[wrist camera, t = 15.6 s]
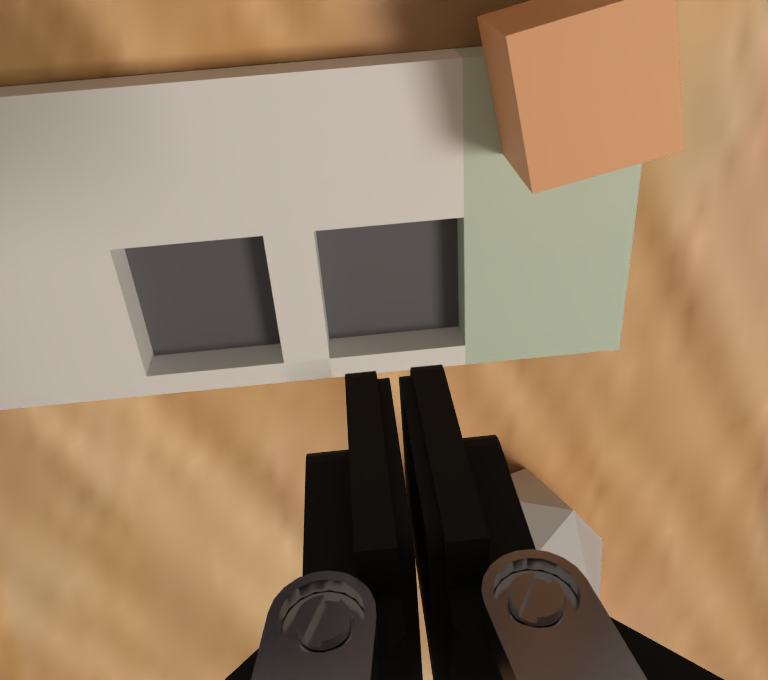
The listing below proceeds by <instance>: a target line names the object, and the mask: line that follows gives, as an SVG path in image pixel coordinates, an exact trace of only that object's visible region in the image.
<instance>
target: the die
mask: <svg viewBox="0 0 768 680" xmlns="http://www.w3.org/2000/svg"><path fill="white" fill-rule="evenodd" d="M511 477H512V480H513V483H514V486H515V489H516V492H517V495H518V498H519V501H520V504H521V507H522V510H523V513H524V515H525V518H526V521H527V524H528V527H529V530H530V533H531V536H532V539H533V542H534V545H535V548H536V550H541V551H548V552H551V553H553V554H556V555H558V556H561V557H564V558H565V559H566V560H568V561H569V562H571V563H572V564H574V565H575V566H576V567H578V569H579V570H580V571H581V572H582V573H583V575H584V576H585V577H586V578H587V580H588V581H589V583H590V585H591V586H592V588H593V590H594V591H595V593H596V595H597V596H598V598H599V600H600V581H601V561H602V541H603V540H602V539H601V538H600V537H599V536H598V535H597V534H596V533H595V532H594V531H593V530H592V529H591V528H590V527H589V526H588V525H587V524H586V523H585V522H584V521H583V520H582V518H581V517H580V516H579V515H578V514H577V513H576V512H575V511H574V510H573V509H571V508H570V507H569V506H568V505H567V504H566V503H565V502H563V501H562V500H561V499H560V498H559V497H558V496H557V495H556V494H554V493H553V492H552V491H551V490H550V489H549V488H548V487H546V486H545V485H544V484H543V483H542V482H541V481H540V480H539V479H537V478H536V477H535V476H534V475H533V474H532V473H531V472H529V471H528V470H527V469H526V468H525V469H523V470H520V471H517V472H515V473H512V474H511ZM418 588H419V589H420V586H419V587H418Z"/></svg>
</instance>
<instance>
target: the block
mask: <svg viewBox="0 0 768 680" xmlns="http://www.w3.org/2000/svg"><path fill="white" fill-rule="evenodd" d="M477 19H478V25H479V30H480V35H481V41H482V46H483V51H484V57H485V62H486V67H487V73H488V78H489V83H490V89H491V94H492V99H493V105H494V110H495V115H496V121H497V126H498V131H499V137H500V142H501V147H502V153H503V155H504V157H505V158H506V159H507V161H508V162H509V163H510V165H511V166H512V167H513V169H514V170H515V171H516V173H517V174H518V175H519V177H520V178H521V179H522V181H523V182H524V183H525V185H526V186H527V187H528V189H529V190H530V191H531V193H532V194H535V193H539V192H542V191H546V190H549V189H553V188H556V187H560V186H563V185H567V184H570V183H574V182H577V181H581V180H584V179H588V178H591V177H595V176H598V175H602V174H605V173H609V172H612V171H616V170H619V169H623V168H626V167H630V166H633V165H637V164H640V163H644V162H647V161H651V160H655V159H658V158H662V157H665V156H669V155H672V154H676V153H679V152H683V151H684V133H683V113H682V93H681V73H680V53H679V33H678V13H677V0H529V1H526V2H523V3H520V4H516V5H513V6H510V7H507V8H503V9H500V10H497V11H493V12H490V13H487V14H484V15H480V16H477Z"/></svg>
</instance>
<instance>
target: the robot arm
mask: <svg viewBox="0 0 768 680" xmlns="http://www.w3.org/2000/svg"><path fill="white" fill-rule="evenodd" d="M410 375H411V376H404V377H399V386H400V401H401V416H402V431H403V445H404V460H405V475H406V487H405V480H404V473H403V466H402V460H401V453H400V446H399V439H398V433H397V426H396V419H395V412H394V406H393V399H392V392H391V385H390V379H389V378H383V379H377V374H376V371H369V372H359V373H348V374H345V386H346V406H347V425H348V444H349V450H340V451H331V452H321V453H311V454H307V456H306V474H305V510H304V546H303V576H302V577H299V578H297V579H296V580H294V581H293V582H291V583H290V584H288V585H287V586H285V587H284V588H283V589H282V590H281V592H280V593H279V594H278V595H277V596H276V597H275V599H274V600H273V602H272V605H271V607H270V609H269V612H268V614H267V618H266V622H265V626H264V630H263V634H262V638H261V642H260V646H259V649H257V650H256V651H255V652H254V653H253V654H252V655H251V656H250V657H249V658H248V659H247V660H245V661H244V662H243V663H242V664H241V665H240V666H239V667H238V668H237V669H236V670H235V671H234V672H232V673H231V674H230V675H229V676H228V677H227V678H226V679H225V680H423V676H422V661H421V645H420V629H419V613H418V598H417V582H416V566H415V559H416V565H417V572H418V579H419V586H420V593H421V599H422V606H423V613H424V620H425V627H426V633H427V640H428V647H429V654H430V661H431V668H432V674H433V680H724V679H722V678H720V677H718V676H716V675H715V674H713V673H711V672H709V671H707V670H706V669H704V668H702V667H700V666H698V665H696V664H695V663H693V662H691V661H689V660H687V659H686V658H684V657H682V656H680V655H678V654H676V653H675V652H673V651H671V650H669V649H667V648H666V647H664V646H662V645H660V644H658V643H656V642H655V641H653V640H651V639H649V638H647V637H646V636H644V635H642V634H640V633H638V632H636V631H635V630H633V629H631V628H629V627H627V626H626V625H624V624H622V623H620V622H618V621H616V620H615V619H613V618H611V617H610V616H609V615H608V613H607V611H606V610H605V608H604V606H603V605H602V603H601V601H600V600H599V598H598V596H597V595H596V593H595V591H594V590H593V588H592V586H591V585H590V583H589V581H588V580H587V578H586V577H585V576H584V575H583V573H582V572H581V571H580V570H579V569H578V567H576V566H575V565H574V564H572V563H571V562H569V561H568V560H566V559H565V558H564V557H561V556H558V555H556V554H553V553H551V552H548V551H541V550H536V548H535V545H534V542H533V539H532V536H531V533H530V530H529V527H528V524H527V521H526V518H525V515H524V513H523V510H522V507H521V504H520V501H519V498H518V495H517V492H516V489H515V486H514V483H513V480H512V477H511V474H510V471H509V468H508V465H507V462H506V459H505V457H504V454H503V451H502V448H501V445H500V442H499V440H498V437H497V436H496V435H489V436H479V437H469V438H462V435H461V431H460V427H459V424H458V420H457V416H456V413H455V409H454V405H453V401H452V398H451V394H450V390H449V387H448V383H447V379H446V376H445V372H444V368H443V365H442V364H440V365H430V366H420V367H411V369H410ZM406 490H407V494H406ZM414 552H415V553H414Z"/></svg>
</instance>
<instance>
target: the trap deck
mask: <svg viewBox="0 0 768 680" xmlns="http://www.w3.org/2000/svg"><path fill="white" fill-rule="evenodd" d="M641 167H642V163H640V164H637V165H633V166H630V167H626V168H623V169H619V170H616V171H612V172H609V173H605V174H602V175H598V176H595V177H591V178H588V179H584V180H581V181H577V182H574V183H570V184H567V185H563V186H560V187H556V188H553V189H549V190H546V191H542V192H539V193H535V194H532V193H531V191H530V190H529V189H528V187H527V186H526V185H525V183H524V182H523V181H522V179H521V178H520V177H519V175H518V174H517V173H516V171H515V170H514V169H513V167H512V166H511V165H510V163H509V162H508V161H507V159H506V158H505V157H504V155H503V153H502V147H501V142H500V137H499V131H498V126H497V121H496V115H495V110H494V105H493V99H492V94H491V89H490V83H489V78H488V73H487V67H486V62H485V57H484V51H483V46H479V47H467V48H455V49H443V50H431V51H420V52H408V53H396V54H384V55H372V56H360V57H349V58H337V59H325V60H313V61H301V62H289V63H278V64H266V65H254V66H242V67H230V68H218V69H207V70H195V71H183V72H171V73H159V74H147V75H136V76H124V77H112V78H100V79H88V80H77V81H65V82H53V83H41V84H29V85H17V86H6V87H0V410H5V409H15V408H26V407H36V406H46V405H56V404H67V403H77V402H87V401H97V400H107V399H118V398H128V397H138V396H148V395H158V394H169V393H179V392H189V391H199V390H210V389H220V388H230V387H240V386H250V385H261V384H271V383H281V382H291V381H302V380H312V379H322V378H332V377H342V376H345V374H348V373H359V372H369V371H376V373H383V372H393V371H404V370H410V369H411V367H420V366H430V365H440V364H442V365H443V367H445V366H455V365H465V364H475V363H485V362H496V361H506V360H516V359H526V358H537V357H547V356H557V355H567V354H577V353H588V352H598V351H608V350H618V349H619V347H620V339H621V331H622V323H623V315H624V306H625V298H626V290H627V282H628V274H629V265H630V257H631V249H632V241H633V233H634V224H635V216H636V208H637V200H638V192H639V183H640V175H641Z"/></svg>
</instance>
